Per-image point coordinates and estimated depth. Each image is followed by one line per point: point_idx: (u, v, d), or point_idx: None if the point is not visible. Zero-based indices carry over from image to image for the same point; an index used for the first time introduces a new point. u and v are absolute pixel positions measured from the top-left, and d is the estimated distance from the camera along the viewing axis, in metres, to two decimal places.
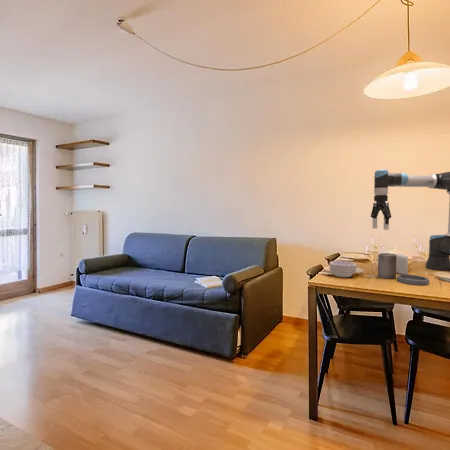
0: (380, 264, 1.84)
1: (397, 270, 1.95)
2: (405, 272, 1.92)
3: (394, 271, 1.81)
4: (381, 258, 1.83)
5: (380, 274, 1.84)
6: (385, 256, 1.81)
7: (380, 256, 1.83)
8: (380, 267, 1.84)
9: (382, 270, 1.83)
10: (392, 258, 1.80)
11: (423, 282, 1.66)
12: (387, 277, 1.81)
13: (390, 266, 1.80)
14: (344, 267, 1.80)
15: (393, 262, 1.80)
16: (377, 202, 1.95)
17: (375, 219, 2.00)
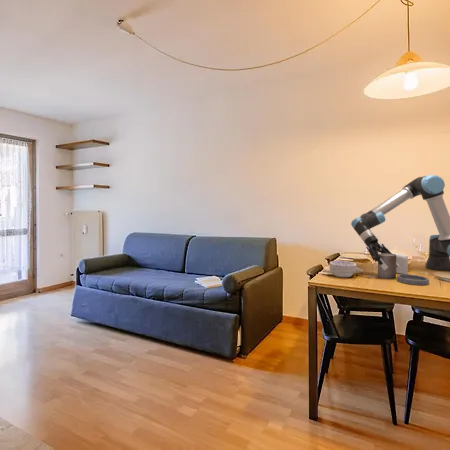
0: None
1: (397, 270, 1.95)
2: (405, 272, 1.92)
3: (394, 271, 1.81)
4: (381, 258, 1.83)
5: (380, 274, 1.84)
6: (385, 256, 1.81)
7: (380, 256, 1.83)
8: (380, 267, 1.84)
9: (382, 270, 1.83)
10: (391, 258, 1.80)
11: (423, 282, 1.66)
12: (387, 277, 1.81)
13: (390, 266, 1.80)
14: (344, 267, 1.80)
15: (393, 262, 1.80)
16: None
17: None
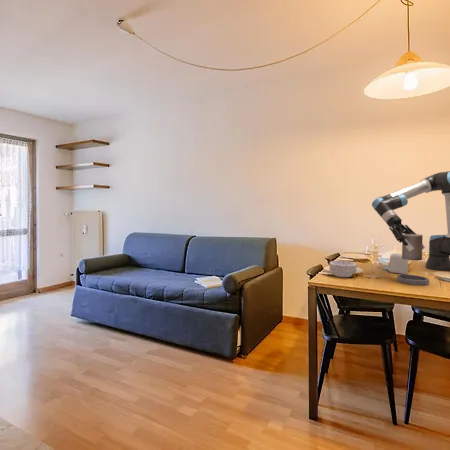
0: None
1: (397, 270, 1.95)
2: (405, 272, 1.92)
3: (420, 252, 1.69)
4: None
5: (405, 256, 1.72)
6: (410, 236, 1.69)
7: (405, 237, 1.72)
8: (405, 248, 1.72)
9: (407, 252, 1.71)
10: (418, 238, 1.68)
11: (423, 282, 1.66)
12: (413, 259, 1.69)
13: (416, 247, 1.68)
14: (344, 267, 1.80)
15: (419, 243, 1.68)
16: None
17: None
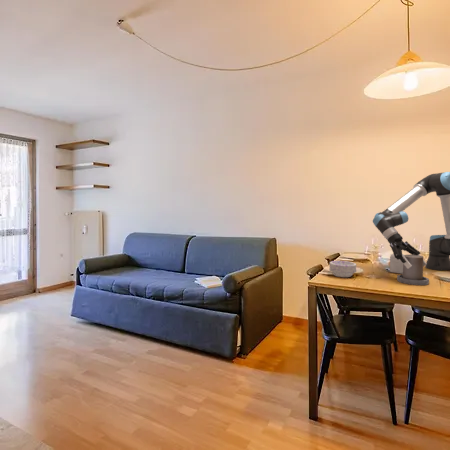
0: None
1: (397, 270, 1.95)
2: None
3: (421, 274, 1.69)
4: None
5: (405, 277, 1.72)
6: (411, 258, 1.69)
7: (406, 258, 1.72)
8: (406, 269, 1.72)
9: (408, 273, 1.71)
10: (418, 260, 1.68)
11: (423, 282, 1.66)
12: None
13: (417, 269, 1.68)
14: (344, 267, 1.80)
15: (420, 264, 1.68)
16: None
17: None
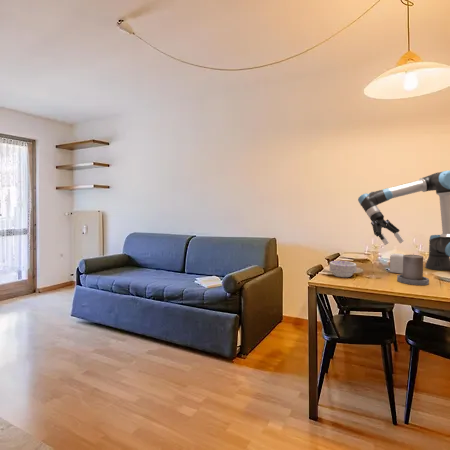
0: (406, 266, 1.72)
1: (397, 270, 1.95)
2: None
3: (421, 274, 1.69)
4: (407, 260, 1.71)
5: (405, 277, 1.72)
6: (411, 258, 1.69)
7: (406, 258, 1.72)
8: (405, 269, 1.72)
9: (407, 273, 1.71)
10: (418, 260, 1.68)
11: (423, 282, 1.66)
12: None
13: (417, 269, 1.68)
14: (344, 267, 1.80)
15: (420, 264, 1.68)
16: None
17: (396, 234, 1.91)
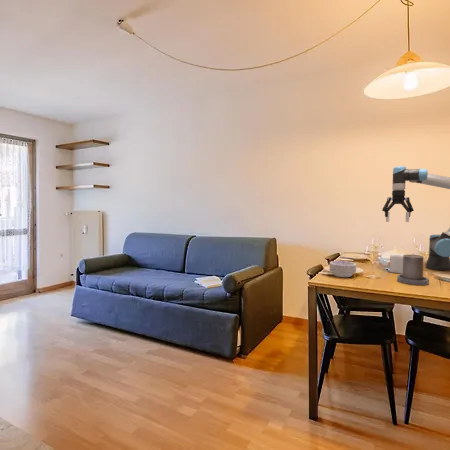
0: (406, 266, 1.72)
1: (397, 270, 1.95)
2: None
3: (421, 274, 1.69)
4: (407, 260, 1.71)
5: (405, 277, 1.72)
6: (411, 258, 1.69)
7: (406, 258, 1.72)
8: (406, 269, 1.72)
9: (408, 273, 1.71)
10: (418, 260, 1.68)
11: (423, 282, 1.66)
12: None
13: (417, 269, 1.68)
14: (344, 267, 1.80)
15: (420, 264, 1.68)
16: None
17: (407, 213, 2.08)
